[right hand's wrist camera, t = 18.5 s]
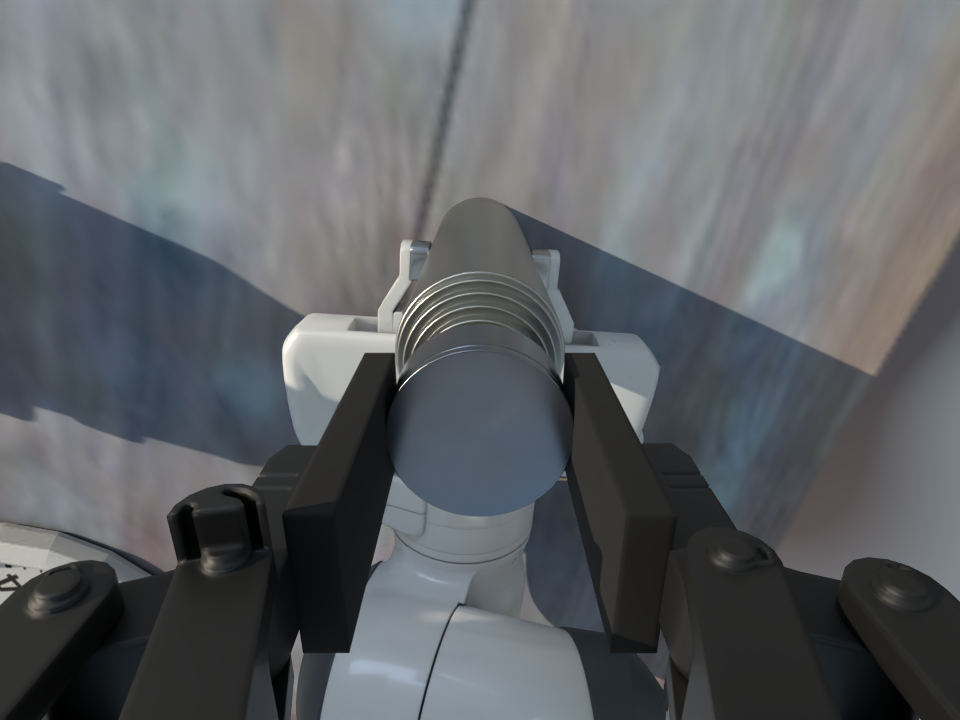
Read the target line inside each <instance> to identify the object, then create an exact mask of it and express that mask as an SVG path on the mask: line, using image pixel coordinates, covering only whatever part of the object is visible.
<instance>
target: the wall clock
mask: <svg viewBox="0 0 960 720" xmlns="http://www.w3.org/2000/svg"><path fill="white" fill-rule="evenodd" d="M86 560H96V561H101V562H107V563H108V564H109V565H110V566H111V567H112V568H114V569H115V571H116V575H117V578H118V581H119V583H121V582H126V581H130V580H135V579H139V578H144V577H148V576H152V575H150V574H149V573H147V572H145V571H144V570H142V569H140V568H139V567H137V566H135V565H134V564H132V563H131V562H129V561H127V560H126V559H124V558H122V557H121V556H119V555H117V554H116V553H114V552H112V551H110V550H107V549H105V548H102V547H99V546H97V545H94V544H91V543H89V542H86V541H83V540H81V539H78V538H75V537H73V536H70V535H67V534H65V533H62V532H58V531H52V530H46V529H41V528H35V527H29V526H23V525H17V524H12V523H0V605H1V604H2V603H3V602H4V601H5V600H6V599H7V598H8V597H9V596H10V595H11V594H12V593H13V592H14V591H16V590H17V589H18V588H20V587H21V586H22V585H24V584H25V583H26V582H28V581H29V580H30V579H32V578H34V577H36V576H38V575H40V574H42V573H44V572H46V571H48V570H50V569H52V568H55V567H58V566H61V565H64V564H68V563H71V562H77V561H86Z"/></svg>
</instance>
